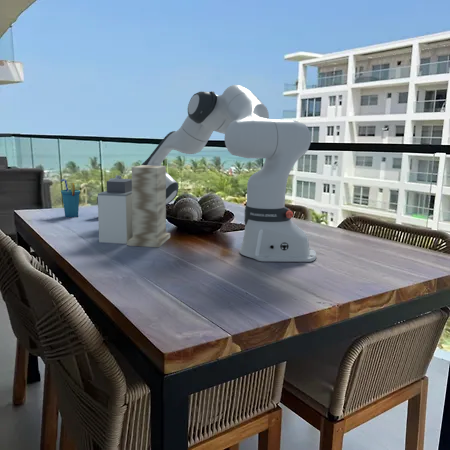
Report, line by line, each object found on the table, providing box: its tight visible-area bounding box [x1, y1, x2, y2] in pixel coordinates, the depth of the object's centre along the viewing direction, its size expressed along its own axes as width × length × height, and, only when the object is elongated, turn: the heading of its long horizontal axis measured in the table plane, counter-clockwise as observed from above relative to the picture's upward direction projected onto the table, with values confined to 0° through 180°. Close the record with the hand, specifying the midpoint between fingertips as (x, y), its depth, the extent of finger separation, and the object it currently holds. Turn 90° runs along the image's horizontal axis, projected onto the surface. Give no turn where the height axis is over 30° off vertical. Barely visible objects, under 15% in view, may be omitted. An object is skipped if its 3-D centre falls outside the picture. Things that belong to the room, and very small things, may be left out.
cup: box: [60, 178, 81, 218], centre depth 184 cm, size 14×8×15 cm, turn 45°
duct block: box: [97, 190, 133, 245], centre depth 148 cm, size 9×14×16 cm, turn 172°
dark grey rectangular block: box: [106, 178, 132, 193], centre depth 151 cm, size 6×18×4 cm, turn 173°
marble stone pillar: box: [126, 165, 171, 248], centre depth 144 cm, size 10×14×24 cm
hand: (130, 177), depth 156 cm, fingers open, 8 cm apart
